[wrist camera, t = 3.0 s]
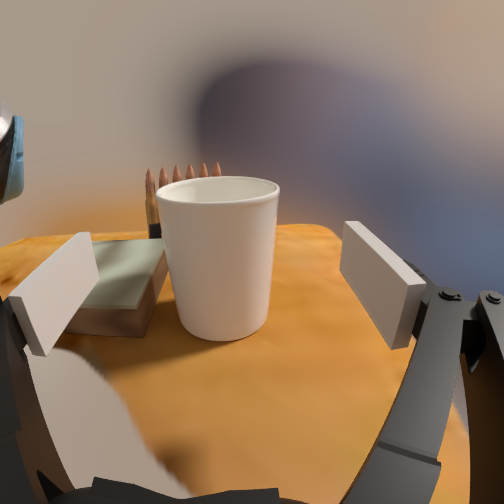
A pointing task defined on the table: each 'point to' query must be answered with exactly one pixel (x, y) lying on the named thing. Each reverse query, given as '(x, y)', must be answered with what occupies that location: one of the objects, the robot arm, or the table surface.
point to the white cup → (220, 252)
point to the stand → (122, 288)
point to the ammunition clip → (151, 203)
